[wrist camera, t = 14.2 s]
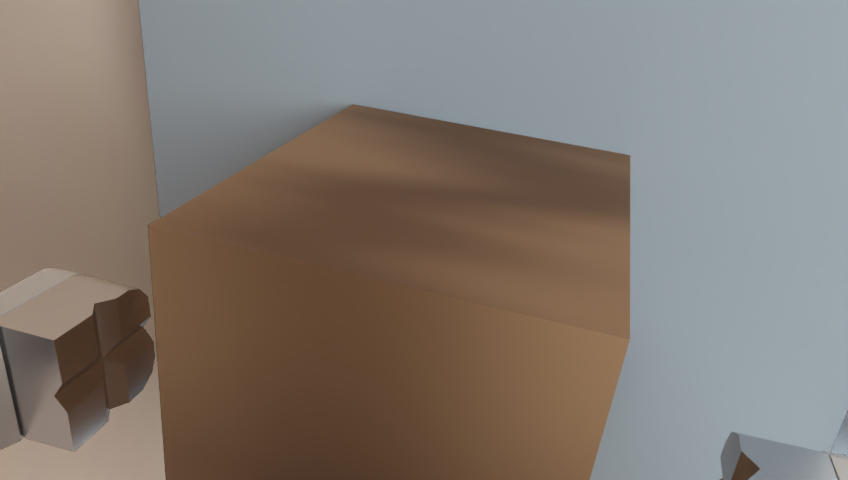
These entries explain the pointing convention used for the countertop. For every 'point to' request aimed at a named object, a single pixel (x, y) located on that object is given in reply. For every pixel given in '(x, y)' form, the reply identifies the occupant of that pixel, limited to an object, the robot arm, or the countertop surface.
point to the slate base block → (600, 129)
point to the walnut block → (395, 307)
